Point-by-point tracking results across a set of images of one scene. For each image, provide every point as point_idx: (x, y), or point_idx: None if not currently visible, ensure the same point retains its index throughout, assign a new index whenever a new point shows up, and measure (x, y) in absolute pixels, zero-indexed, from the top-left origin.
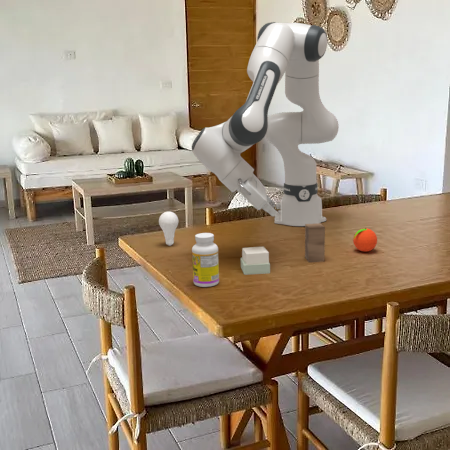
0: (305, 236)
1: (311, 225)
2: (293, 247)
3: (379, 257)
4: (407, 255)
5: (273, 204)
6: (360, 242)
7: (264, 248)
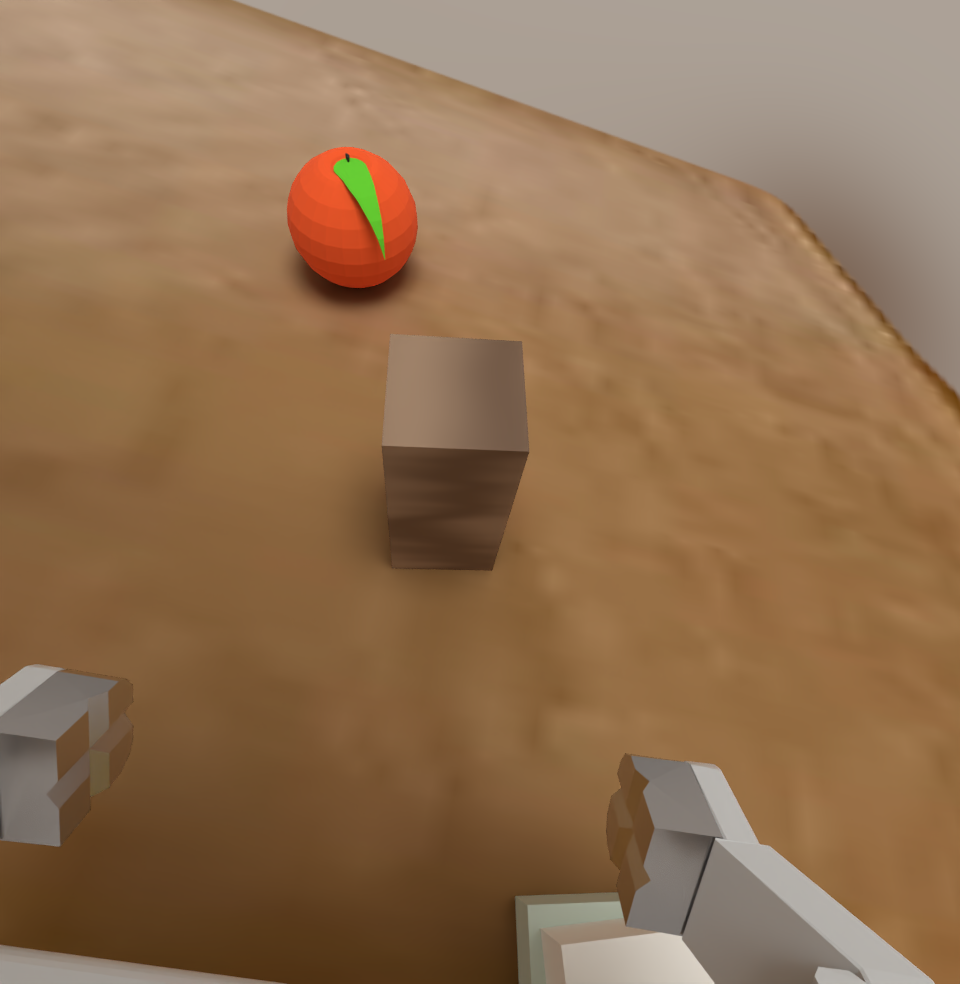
0: (399, 501)
1: (447, 412)
2: (124, 585)
3: (471, 256)
4: (465, 172)
5: (100, 715)
6: (398, 251)
7: (634, 945)
